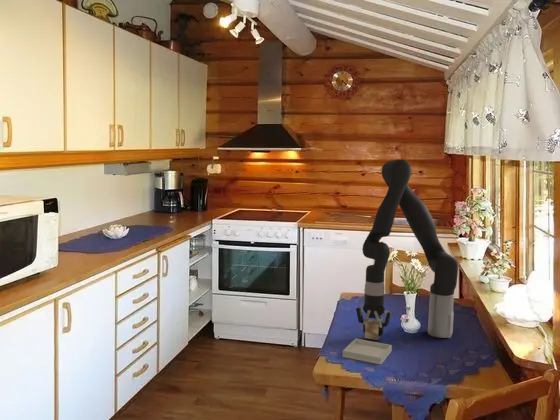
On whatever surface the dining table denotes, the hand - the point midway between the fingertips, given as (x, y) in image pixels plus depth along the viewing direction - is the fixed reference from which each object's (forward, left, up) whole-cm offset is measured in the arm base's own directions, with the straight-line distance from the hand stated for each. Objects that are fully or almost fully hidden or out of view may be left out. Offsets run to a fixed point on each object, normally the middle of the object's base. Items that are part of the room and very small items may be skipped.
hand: (372, 334), depth 215 cm
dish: (-3, +15, -2) cm, 15 cm away
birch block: (0, 0, -1) cm, 1 cm away
